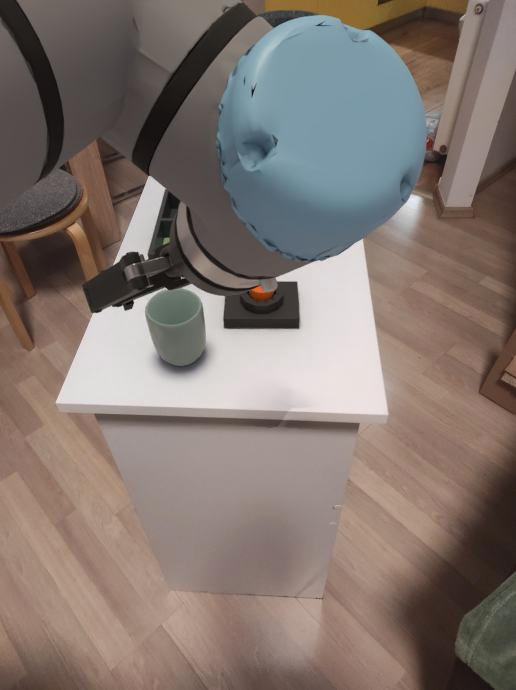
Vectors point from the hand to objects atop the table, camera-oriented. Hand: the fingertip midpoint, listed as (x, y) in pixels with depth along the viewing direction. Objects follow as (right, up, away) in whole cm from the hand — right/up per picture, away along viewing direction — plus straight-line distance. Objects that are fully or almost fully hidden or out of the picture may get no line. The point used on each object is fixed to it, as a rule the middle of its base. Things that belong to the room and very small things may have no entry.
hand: (188, 278), depth 51 cm
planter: (+15, +58, +84) cm, 103 cm away
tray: (-6, +13, +43) cm, 45 cm away
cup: (-4, -8, +24) cm, 25 cm away
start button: (+8, +1, +27) cm, 29 cm away
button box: (+8, -1, +30) cm, 31 cm away
